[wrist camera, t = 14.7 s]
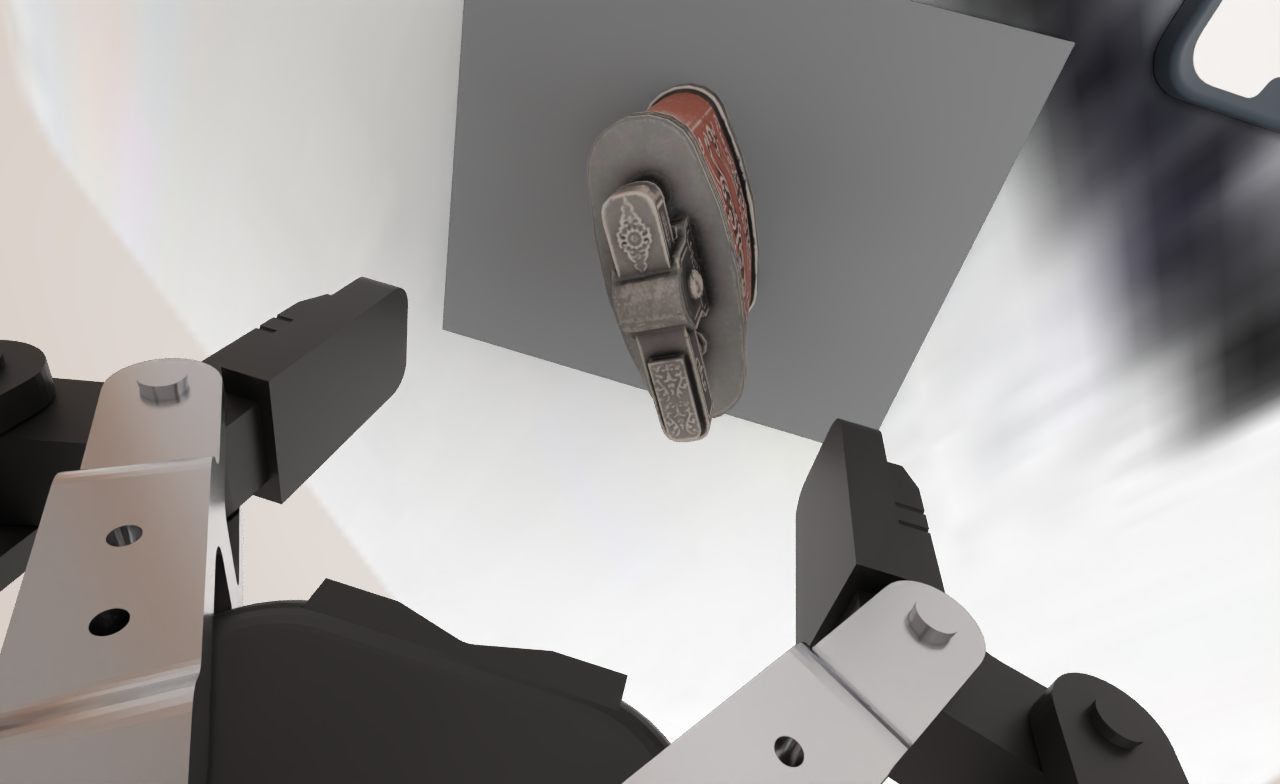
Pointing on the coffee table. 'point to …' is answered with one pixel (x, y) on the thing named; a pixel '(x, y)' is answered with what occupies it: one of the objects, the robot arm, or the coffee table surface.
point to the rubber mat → (777, 169)
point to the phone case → (1224, 58)
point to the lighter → (678, 252)
